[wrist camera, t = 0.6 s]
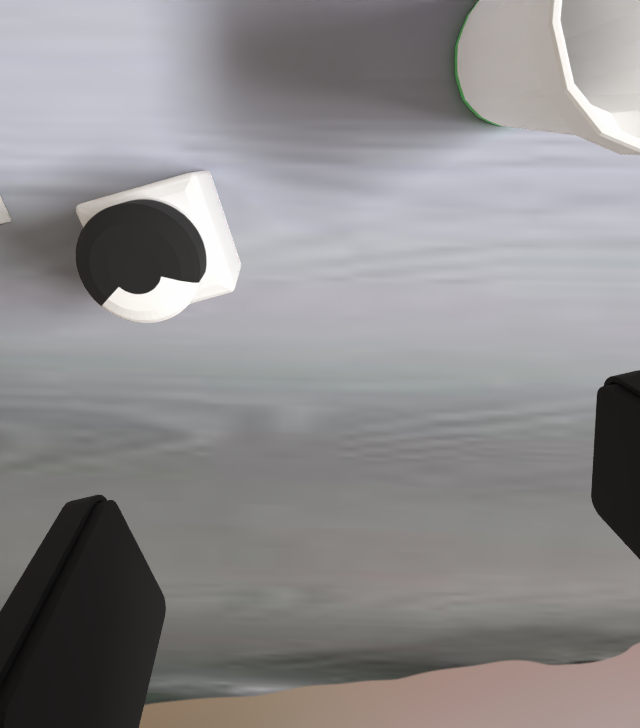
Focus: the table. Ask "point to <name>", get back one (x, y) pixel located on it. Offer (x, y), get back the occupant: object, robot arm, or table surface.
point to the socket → (3, 213)
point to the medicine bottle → (156, 248)
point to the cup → (555, 67)
